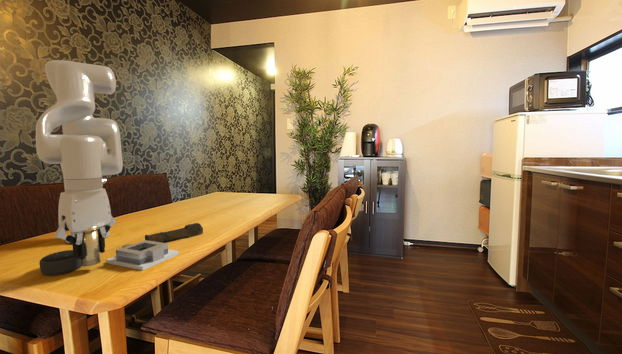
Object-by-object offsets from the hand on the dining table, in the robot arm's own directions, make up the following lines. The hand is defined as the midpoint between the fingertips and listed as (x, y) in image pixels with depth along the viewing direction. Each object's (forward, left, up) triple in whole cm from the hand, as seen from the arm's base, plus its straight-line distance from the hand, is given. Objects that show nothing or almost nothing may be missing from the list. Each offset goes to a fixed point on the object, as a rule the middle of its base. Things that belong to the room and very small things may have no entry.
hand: (90, 254), depth 74 cm
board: (+6, +11, -4) cm, 13 cm away
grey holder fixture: (+6, +10, -3) cm, 12 cm away
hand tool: (0, +28, -5) cm, 28 cm away
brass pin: (0, 0, -2) cm, 2 cm away
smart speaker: (-9, -2, -5) cm, 10 cm away
